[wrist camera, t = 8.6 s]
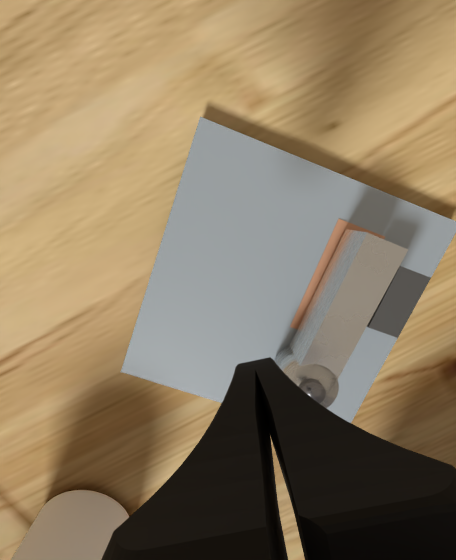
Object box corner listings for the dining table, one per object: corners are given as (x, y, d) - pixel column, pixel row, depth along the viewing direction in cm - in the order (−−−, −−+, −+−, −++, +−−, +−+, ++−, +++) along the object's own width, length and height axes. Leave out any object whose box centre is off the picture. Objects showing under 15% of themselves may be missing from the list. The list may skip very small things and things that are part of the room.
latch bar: (310, 393, 21) (326, 426, 18) (266, 378, 21) (274, 409, 18) (387, 246, 18) (422, 254, 15) (338, 226, 18) (363, 229, 15)
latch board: (448, 222, 19) (505, 225, 16) (336, 430, 23) (359, 474, 20) (201, 121, 18) (195, 97, 14) (125, 364, 22) (104, 398, 18)
